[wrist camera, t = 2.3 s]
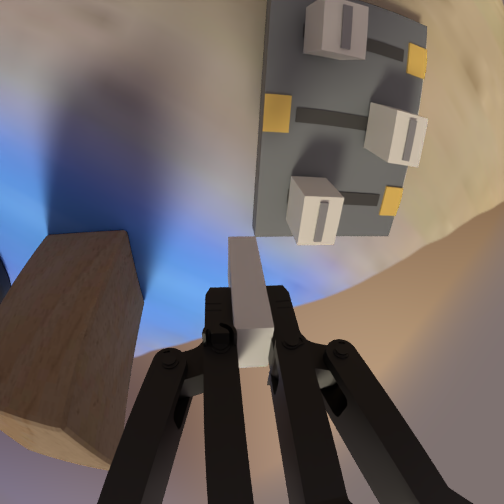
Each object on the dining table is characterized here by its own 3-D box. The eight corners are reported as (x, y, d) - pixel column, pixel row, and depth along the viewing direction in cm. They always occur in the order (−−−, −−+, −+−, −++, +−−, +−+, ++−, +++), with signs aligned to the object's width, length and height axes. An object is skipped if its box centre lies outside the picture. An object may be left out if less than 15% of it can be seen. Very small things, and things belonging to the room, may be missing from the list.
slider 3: (363, 147, 22) (389, 163, 18) (370, 102, 19) (399, 110, 16) (392, 151, 22) (419, 168, 19) (399, 109, 20) (429, 119, 16)
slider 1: (303, 53, 17) (322, 49, 14) (306, 6, 15) (326, -6, 11) (340, 60, 17) (366, 59, 14) (344, 15, 15) (370, 6, 12)
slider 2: (285, 219, 25) (297, 246, 22) (291, 175, 23) (305, 197, 19) (318, 219, 25) (334, 246, 22) (325, 177, 23) (345, 198, 20)
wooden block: (73, 301, 31) (26, 449, 14) (46, 233, 25) (-44, 392, 9) (145, 302, 32) (122, 473, 16) (128, 227, 26) (60, 430, 10)
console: (252, 225, 28) (255, 237, 26) (267, -11, 15) (272, -19, 14) (382, 226, 30) (391, 237, 28) (417, 28, 17) (431, 28, 15)
